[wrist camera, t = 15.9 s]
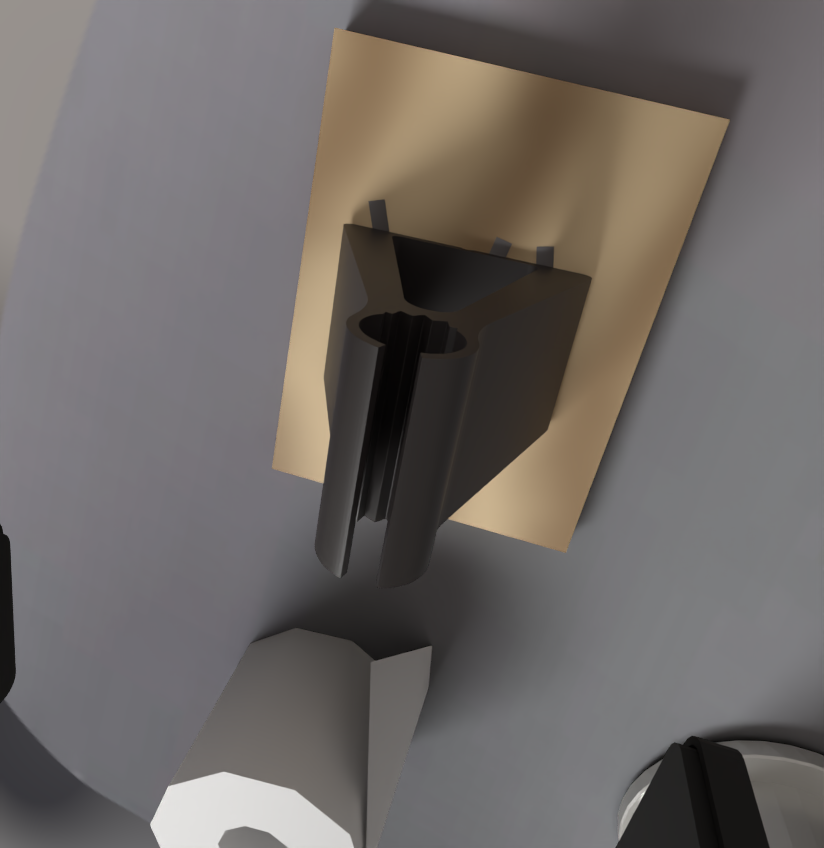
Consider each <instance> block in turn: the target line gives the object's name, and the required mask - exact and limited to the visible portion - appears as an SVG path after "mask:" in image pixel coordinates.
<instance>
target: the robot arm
mask: <svg viewBox="0 0 824 848" xmlns="http://www.w3.org/2000/svg"><path fill="white" fill-rule="evenodd" d="M15 674H16V667H15V644H14V621H13V598H12V575H11V553H10V541H9V538H8V536H7V535H5V534H3V530H2V526H1V525H0V703H1V702H2V701H3V700H4V698H5V697H6V696H7V694H8V693H9V691H10V689H11V687H12V685H13V683H14V679H15ZM618 839H619V842H618V844H617V846H616V848H824V756H823V755H821V754H819V753H815V752H812V751H809V750H805V749H802V748H799V747H795V746H792V745H786V744H779V743H773V742H767V741H742V740H735V741H726V742H716V743H715V742H712V741H708V740H705V739H702V738H699V737H695V736H691V737H689V738H688V739H687V740H686V742H685V743H684V745H681V744H678V743H673V744H671V746H670V747H669V749H668V750H667V752H666V754H665V756H664V758H663V759H662V760H661V761H659V762H658V763H656V764H655V765H653V766H652V767H650V768H648V769H647V770H645V771H644V772H643V773H642V774H641V775H640V776H639V777H638V778H637V779H636V780H635V781H634V782H633V783H632V784H631V786H630V787H629V789H628V791H627V792H626V794H625V796H624V797H623V799H622V802H621V805H620V809H619V812H618Z"/></svg>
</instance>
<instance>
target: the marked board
mask: <svg viewBox="0 0 824 848" xmlns="http://www.w3.org/2000/svg"><path fill="white" fill-rule="evenodd" d="M729 121H730V120H729V119H725V118H720V117H716V116H712V115H707V114H703V113H699V112H695V111H690V110H686V109H682V108H677V107H673V106H669V105H664V104H660V103H656V102H652V101H647V100H643V99H639V98H634V97H630V96H626V95H622V94H617V93H613V92H609V91H604V90H600V89H596V88H591V87H587V86H583V85H579V84H574V83H570V82H566V81H561V80H557V79H553V78H549V77H544V76H540V75H536V74H531V73H527V72H523V71H518V70H514V69H510V68H506V67H501V66H497V65H493V64H488V63H484V62H480V61H476V60H471V59H467V58H463V57H458V56H454V55H450V54H446V53H441V52H437V51H433V50H428V49H424V48H420V47H415V46H411V45H407V44H403V43H398V42H394V41H390V40H385V39H381V38H377V37H373V36H368V35H364V34H360V33H355V32H351V31H347V30H342V29H338V28H335V29H334V36H333V43H332V50H331V57H330V64H329V71H328V78H327V85H326V92H325V99H324V106H323V113H322V120H321V127H320V134H319V141H318V148H317V155H316V162H315V169H314V176H313V183H312V190H311V198H310V205H309V212H308V219H307V226H306V233H305V240H304V247H303V254H302V261H301V268H300V275H299V282H298V289H297V296H296V303H295V310H294V317H293V324H292V331H291V338H290V345H289V352H288V359H287V366H286V373H285V380H284V387H283V394H282V401H281V408H280V415H279V422H278V429H277V437H276V444H275V451H274V458H273V465H272V469H275V470H279V471H282V472H286V473H289V474H293V475H296V476H300V477H303V478H307V479H310V480H314V481H317V482H321V483H324V476H325V468H326V461H327V454H328V447H329V440H330V430H329V421H328V412H327V403H326V394H325V386H324V370H325V362H326V354H327V347H328V339H329V332H330V324H331V316H332V309H333V301H334V294H335V286H336V278H337V271H338V263H339V255H340V248H341V240H342V233H343V225H344V224H356V225H360V226H365V227H369V228H374V229H379V230H383V231H388V232H392V233H397V234H402V235H406V236H411V237H415V238H420V239H424V240H429V241H434V242H438V243H443V244H447V245H452V246H457V247H461V248H463V249H466V250H475V251H479V252H484V253H489V254H493V255H498V256H502V257H507V258H512V259H516V260H521V261H525V262H530V263H535V264H539V265H544V266H548V267H553V268H557V269H562V270H567V271H571V272H576V273H580V274H584V275H587V276H590V277H591V278H592V280H591V284H590V287H589V291H588V294H587V297H586V301H585V304H584V308H583V311H582V315H581V318H580V321H579V325H578V328H577V332H576V335H575V338H574V342H573V345H572V349H571V352H570V356H569V359H568V362H567V366H566V369H565V373H564V376H563V380H562V383H561V386H560V390H559V393H558V397H557V400H556V403H555V407H554V410H553V414H552V417H551V421H550V424H549V427H548V430H547V431H546V432H545V433H544V434H543V435H542V436H541V437H540V438H539V439H537V440H536V441H535V442H534V443H533V444H532V445H531V446H530V447H528V448H527V449H526V450H525V451H524V452H523V453H522V454H520V455H519V456H518V457H517V458H516V459H515V460H514V461H513V462H511V463H510V464H509V465H508V466H507V467H506V468H505V469H504V470H502V471H501V472H500V473H499V474H498V475H497V476H496V477H495V478H493V479H492V480H491V481H490V482H489V483H488V484H487V485H485V486H484V487H483V488H482V489H481V490H480V491H479V492H478V493H476V494H475V495H474V496H473V497H472V498H471V499H470V500H469V501H467V502H466V503H465V504H464V505H463V506H462V507H461V508H460V509H458V510H457V511H456V512H455V513H454V514H453V515H452V516H451V517H449V518H448V519H450V520H453V521H457V522H460V523H464V524H467V525H471V526H474V527H478V528H481V529H485V530H488V531H492V532H495V533H499V534H502V535H506V536H509V537H513V538H516V539H520V540H523V541H527V542H530V543H534V544H537V545H541V546H544V547H548V548H551V549H555V550H558V551H561V552H565V553H566V551H567V548H568V545H569V543H570V540H571V537H572V535H573V532H574V530H575V527H576V524H577V522H578V519H579V516H580V514H581V511H582V509H583V506H584V503H585V501H586V498H587V495H588V493H589V490H590V487H591V485H592V482H593V480H594V477H595V474H596V472H597V469H598V466H599V464H600V461H601V458H602V456H603V453H604V451H605V448H606V445H607V443H608V440H609V437H610V435H611V432H612V429H613V427H614V424H615V422H616V419H617V416H618V414H619V411H620V408H621V406H622V403H623V400H624V398H625V395H626V393H627V390H628V387H629V385H630V382H631V379H632V377H633V374H634V372H635V369H636V366H637V364H638V361H639V358H640V356H641V353H642V350H643V348H644V345H645V343H646V340H647V337H648V335H649V332H650V329H651V327H652V324H653V321H654V319H655V316H656V314H657V311H658V308H659V306H660V303H661V300H662V298H663V295H664V292H665V290H666V287H667V285H668V282H669V279H670V277H671V274H672V271H673V269H674V266H675V263H676V261H677V258H678V256H679V253H680V250H681V248H682V245H683V242H684V240H685V237H686V235H687V232H688V229H689V227H690V224H691V221H692V219H693V216H694V213H695V211H696V208H697V206H698V203H699V200H700V198H701V195H702V192H703V190H704V187H705V184H706V182H707V179H708V177H709V174H710V171H711V169H712V166H713V163H714V161H715V158H716V155H717V153H718V150H719V148H720V145H721V142H722V140H723V137H724V134H725V132H726V129H727V126H728V124H729Z"/></svg>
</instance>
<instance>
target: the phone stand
mask: <svg viewBox="0 0 824 848" xmlns="http://www.w3.org/2000/svg"><path fill="white" fill-rule="evenodd" d="M591 280H592V278H591V277H590V276H587V275H584V274H580V273H576V272H571V271H567V270H562V269H557V268H553V267H548V266H544V265H539V264H535V263H530V262H525V261H521V260H516V259H512V258H507V257H502V256H498V255H493V254H489V253H484V252H479V251H475V250H466V249H463V248H461V247H457V246H452V245H447V244H443V243H438V242H434V241H429V240H424V239H420V238H415V237H411V236H406V235H402V234H397V233H392V232H388V231H383V230H379V229H374V228H369V227H365V226H360V225H356V224H344V225H343V233H342V240H341V248H340V255H339V263H338V271H337V278H336V286H335V294H334V301H333V309H332V316H331V324H330V332H329V339H328V347H327V354H326V362H325V370H324V386H325V394H326V403H327V412H328V421H329V430H330V440H329V447H328V454H327V461H326V468H325V476H324V483H323V490H322V497H321V504H320V511H319V518H318V525H317V532H316V539H315V551H316V554H317V557H318V559H319V560H320V562H321V563H322V564H323V565H324V566H325V567H326V568H327V569H328V570H329V571H330V572H331V573H333V574H334V575H336V576H338V577H339V578H341V577H342V576H343V575H345V574H346V573H347V569H348V563H349V557H350V551H351V545H352V539H353V533H354V528H355V522H358V521H359V520H360V519H361V518H362V517H363V516H366V517H367V518H369V519H371V520H372V521H374V522H377V521H380V520H383V519H387V521H388V523H387V528H386V533H385V538H384V544H383V549H382V554H381V559H380V564H379V569H378V575H377V580H376V581H377V588H392V587H398V586H403V585H406V584H409V583H411V582H413V581H415V580H416V579H418V578H419V577H421V576H422V575H423V574H424V572H425V571H426V570H427V568H428V566H429V562H430V558H431V553H432V549H433V545H434V540H435V536H436V532H437V529H438V528H439V527H440V526H441V525H442V524H443V523H444V522H445V521H446V520H447V519H448V518H449V517H451V516H452V515H453V514H454V513H455V512H456V511H457V510H458V509H460V508H461V507H462V506H463V505H464V504H465V503H466V502H467V501H469V500H470V499H471V498H472V497H473V496H474V495H475V494H476V493H478V492H479V491H480V490H481V489H482V488H483V487H484V486H485V485H487V484H488V483H489V482H490V481H491V480H492V479H493V478H495V477H496V476H497V475H498V474H499V473H500V472H501V471H502V470H504V469H505V468H506V467H507V466H508V465H509V464H510V463H511V462H513V461H514V460H515V459H516V458H517V457H518V456H519V455H520V454H522V453H523V452H524V451H525V450H526V449H527V448H528V447H530V446H531V445H532V444H533V443H534V442H535V441H536V440H537V439H539V438H540V437H541V436H542V435H543V434H544V433H545V432H546V431H547V430H548V427H549V424H550V421H551V417H552V414H553V410H554V407H555V403H556V400H557V397H558V393H559V390H560V386H561V383H562V380H563V376H564V373H565V369H566V366H567V362H568V359H569V356H570V352H571V349H572V345H573V342H574V338H575V335H576V332H577V328H578V325H579V321H580V318H581V315H582V311H583V308H584V304H585V301H586V297H587V294H588V291H589V287H590V284H591Z"/></svg>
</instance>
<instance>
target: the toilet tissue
mask: <svg viewBox="0 0 824 848" xmlns="http://www.w3.org/2000/svg"><path fill="white" fill-rule="evenodd" d="M431 653H432V646H428V647H425V648H421V649H417V650H413V651H410V652H406V653H402V654H399V655H395V656H391V657H388V658H384V659H380V660H377V661H375V660H374V659H372V658H371V657H370V656H369V655H368V654H367V653H365V652H364V651H363V650H362V649H361V648H360V647H359V646H357V645H356V644H355V643H354V642H353V641H350V640H346V639H342V638H337V637H333V636H329V635H324V634H320V633H316V632H312V631H307V630H303V629H299V628H294V629H291V630H288V631H285V632H282V633H279V634H276V635H273V636H271V637H268V638H265V639H262V640H259V641H256V642H253V643H250V645H249V647H248V649H247V650H246V652H245V654H244V655H243V657H242V659H241V661H240V662H239V664H238V666H237V668H236V669H235V671H234V673H233V675H232V676H231V678H230V680H229V682H228V683H227V685H226V687H225V689H224V690H223V692H222V694H221V696H220V697H219V699H218V701H217V703H216V704H215V706H214V708H213V710H212V711H211V713H210V715H209V717H208V718H207V720H206V722H205V724H204V725H203V727H202V729H201V731H200V732H199V734H198V736H197V737H196V739H195V741H194V743H193V744H192V746H191V748H190V750H189V751H188V753H187V755H186V757H185V758H184V760H183V762H182V764H181V765H180V767H179V769H178V771H177V772H176V774H175V776H174V778H173V779H172V781H171V783H170V785H169V786H168V788H167V791H166V793H165V795H164V797H163V799H162V801H161V803H160V805H159V808H158V810H157V812H156V814H155V816H154V818H153V820H152V822H151V825H150V826H151V828H152V830H153V832H154V834H155V837H156V839H157V841H158V843H159V845H160V848H377V846H378V843H379V840H380V837H381V834H382V831H383V828H384V824H385V821H386V818H387V815H388V812H389V809H390V806H391V803H392V800H393V796H394V793H395V790H396V787H397V784H398V781H399V778H400V775H401V772H402V768H403V765H404V762H405V759H406V756H407V753H408V750H409V747H410V744H411V741H412V737H413V734H414V731H415V728H416V725H417V722H418V719H419V716H420V713H421V709H422V706H423V703H424V700H425V697H426V694H427V691H428V688H429V677H430V665H431Z"/></svg>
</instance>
